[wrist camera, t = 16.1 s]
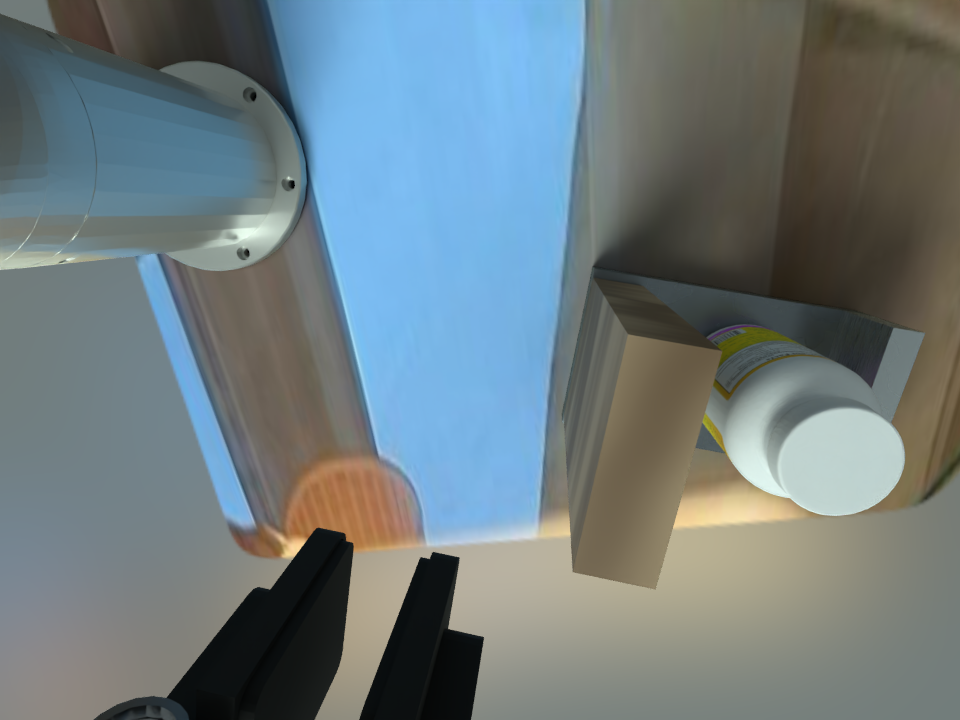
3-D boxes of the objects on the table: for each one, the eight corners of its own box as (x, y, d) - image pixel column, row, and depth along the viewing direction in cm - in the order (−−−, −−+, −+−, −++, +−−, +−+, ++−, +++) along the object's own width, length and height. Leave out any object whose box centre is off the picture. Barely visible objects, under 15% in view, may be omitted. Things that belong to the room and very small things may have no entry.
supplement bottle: (778, 435, 35) (899, 555, 23) (670, 416, 36) (731, 523, 23) (810, 330, 33) (961, 399, 21) (696, 312, 34) (777, 368, 21)
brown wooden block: (563, 416, 36) (572, 571, 21) (592, 277, 34) (628, 334, 18) (610, 425, 36) (655, 589, 20) (643, 285, 34) (722, 351, 18)
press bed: (561, 414, 38) (563, 454, 32) (592, 266, 35) (601, 278, 29) (805, 460, 37) (857, 511, 31) (856, 310, 34) (925, 333, 28)
